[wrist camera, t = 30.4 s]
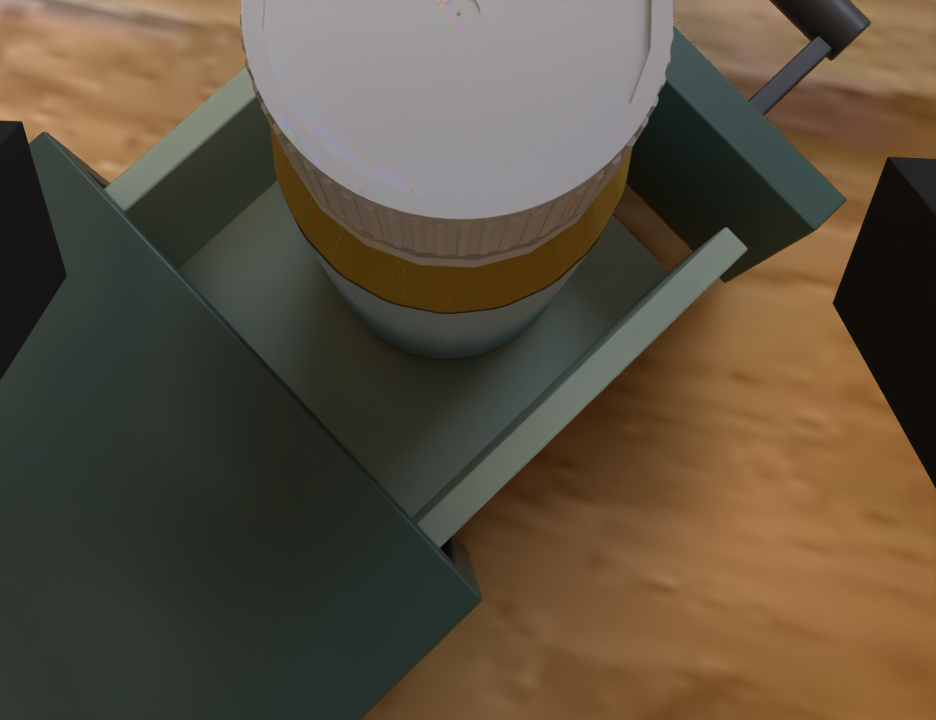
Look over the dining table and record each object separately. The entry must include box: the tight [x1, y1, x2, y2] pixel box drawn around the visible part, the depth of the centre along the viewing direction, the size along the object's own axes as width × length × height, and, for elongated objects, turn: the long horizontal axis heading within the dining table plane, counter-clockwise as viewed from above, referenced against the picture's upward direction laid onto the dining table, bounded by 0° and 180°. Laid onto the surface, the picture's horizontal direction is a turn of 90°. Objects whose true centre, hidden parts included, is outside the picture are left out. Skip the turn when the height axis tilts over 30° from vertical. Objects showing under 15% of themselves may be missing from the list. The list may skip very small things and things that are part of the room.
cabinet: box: [0, 132, 482, 720], centre depth 23 cm, size 19×15×9 cm
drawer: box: [104, 0, 871, 548], centre depth 25 cm, size 23×14×7 cm, turn 134°
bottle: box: [240, 0, 674, 360], centre depth 20 cm, size 7×7×15 cm
